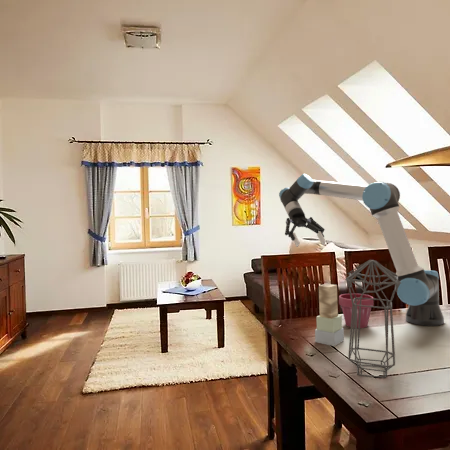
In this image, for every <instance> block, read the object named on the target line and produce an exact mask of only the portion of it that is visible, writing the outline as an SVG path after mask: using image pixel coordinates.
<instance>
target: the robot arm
mask: <svg viewBox="0 0 450 450" xmlns="http://www.w3.org/2000/svg"><path fill="white" fill-rule="evenodd" d="M305 194H309V195H316V196H317V195H318V196H325V197H334V198H341V199H346V200H347V199H349V200H357V201H362V202H363V204H364V205H365V206H366V208H368V209H369V211H370V214H371V217H373V218H375V219H377V222H378V224H379V228H380V230H381V233H382V235H383V238H384V241H385V243H386V246H387V249H388V251H389V254H390V257H391V260H392V262H393V266H394V268H395V270H396V272H395V274H396V275H398V280H399V281H400V282H401V284H400V285H399V287H398V291H397V292H396V294H397V296H398V298H399V299H400V301H401V302H403V303H404V304H406V305H408V307H407V310H406V312H405V321H406V322H408V323H410V324H414V325H420V326H428V327H429V326H432V327H434V326H441V325H444V323H445V317H444V315H443V312H442V309H441V307H440V297H439V296H440V292H439V291H440V289H439V285H440V284H439V280H440V277H439V273H438V271H436V270H429V269H424V267H422V266H420V265H418V262H417V260H416V256H415V254H414V252H413V249H412V246H411V244H410V241H409V238H408V237H407V233H406V231H405V228H404V225H403V222H402V221H401V218H400V216H399V213H398V211H399V209H400V204H399V201H400V199H401V198H400V197H401V192H400V190H399V188H398V187H397V186H396V185H395V184H393V183H389V182H384V181H376V182H371V183H369V184H368V185H366V184H357V183H348V182H338V181H331V180H329V181H328V180H320V179H319V180H318V179H313V178H312V177H311V176H310V175H308V174H307V173H302V174H301V175H300V176H299V177H298V178H296V180H295V181H294V182H293V183H292V185H290V186H289V187H284V188H282V189H281V190H280V191H279V192H278V196H279V199H280V203H282V205H283V207H284V209H285V212H286V214H287V216H288V217H287V218H286V220H285V225H286V226H285V232H284V235H285V236H288V238H290V239H291V241H293V243H294V245H295V247H299V245H300V241H299V238H298V237H297V234H296V232H294V231H296V230H295V229H296V227H297V228H305V229H309V230H310V231H312V232H314V233H315V234H316V236H317V238H318V239H319V241H320V244H321V245H322V246H324V245H325V244H326V242H327V241H326V238H325V235H324V231H326V229H325V228H324V227H323V226H322V225H320V224H319V223H318V221H315V220H314V218H313V217H311V216H310V217H309V218H308V217H306V214H305V212H304V210H303V209H302V206H301V205H300V203H299V201H298V200H300V199H301V198H302V197H303V196H304V195H305ZM291 224H293V225H292V227H291V230H290V226H291ZM394 277H395V278H396V276H394Z"/></svg>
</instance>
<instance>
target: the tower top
mask: <svg viewBox="0 0 450 450" xmlns="http://www.w3.org/2000/svg"><path fill="white" fill-rule="evenodd" d="M315 317H316V329H317V330H322V331H327V332H332V333H334V332H336V331H338V330H340V329H342V328H343V324H342V323H343V319H342V315H341V314H338V316H336V317H334V318H332V319H331V318H325V317H320V314H319V315H317V316H315Z"/></svg>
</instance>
